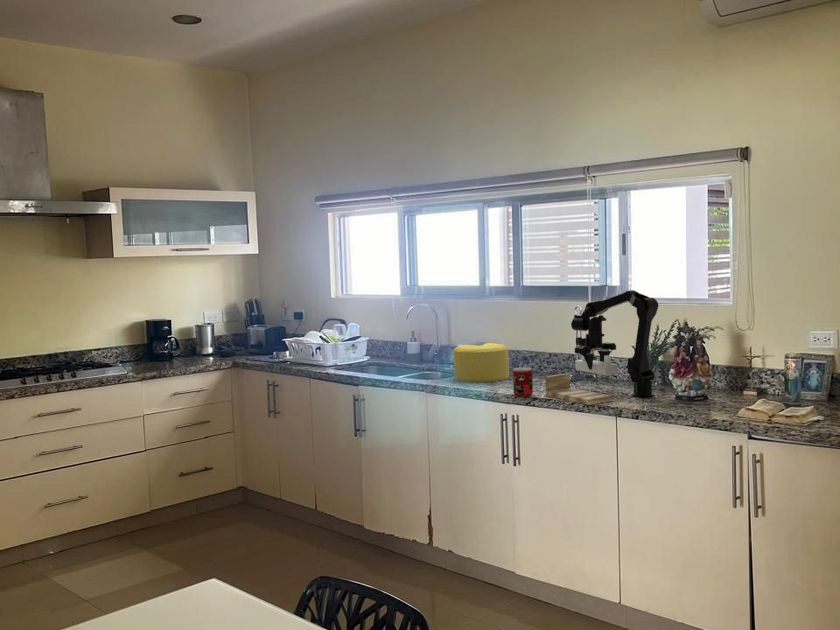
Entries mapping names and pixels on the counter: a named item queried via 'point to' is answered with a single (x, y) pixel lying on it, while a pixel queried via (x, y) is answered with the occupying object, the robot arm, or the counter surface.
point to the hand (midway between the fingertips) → (596, 368)
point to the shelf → (572, 391)
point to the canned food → (522, 381)
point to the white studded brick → (597, 366)
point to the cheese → (481, 362)
